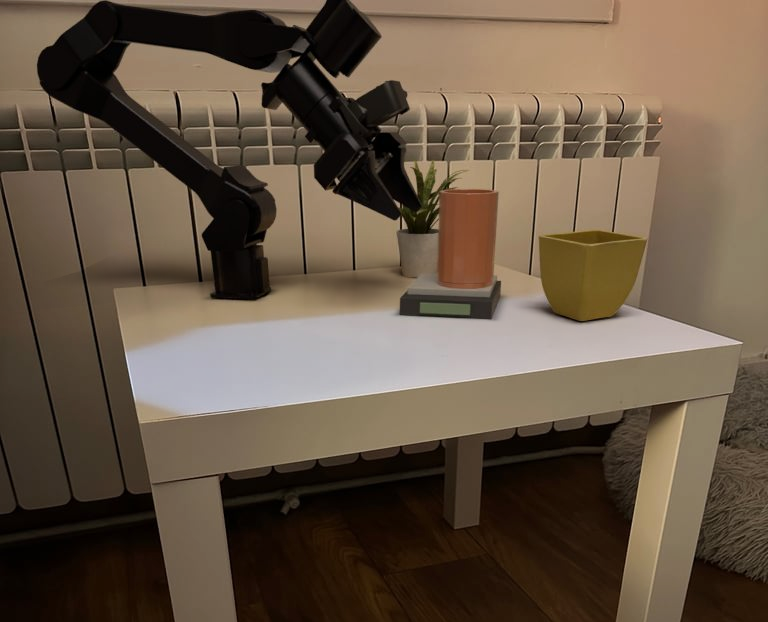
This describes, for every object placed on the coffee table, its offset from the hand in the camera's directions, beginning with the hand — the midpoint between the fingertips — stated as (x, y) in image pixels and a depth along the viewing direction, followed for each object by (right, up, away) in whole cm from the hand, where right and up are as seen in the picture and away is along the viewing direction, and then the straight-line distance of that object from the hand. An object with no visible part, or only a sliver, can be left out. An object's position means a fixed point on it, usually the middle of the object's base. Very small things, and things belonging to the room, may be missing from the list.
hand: (409, 213), depth 88 cm
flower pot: (+21, -13, -2) cm, 24 cm away
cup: (+7, -8, +2) cm, 11 cm away
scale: (+6, -10, +4) cm, 12 cm away
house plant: (+3, -1, +22) cm, 22 cm away
